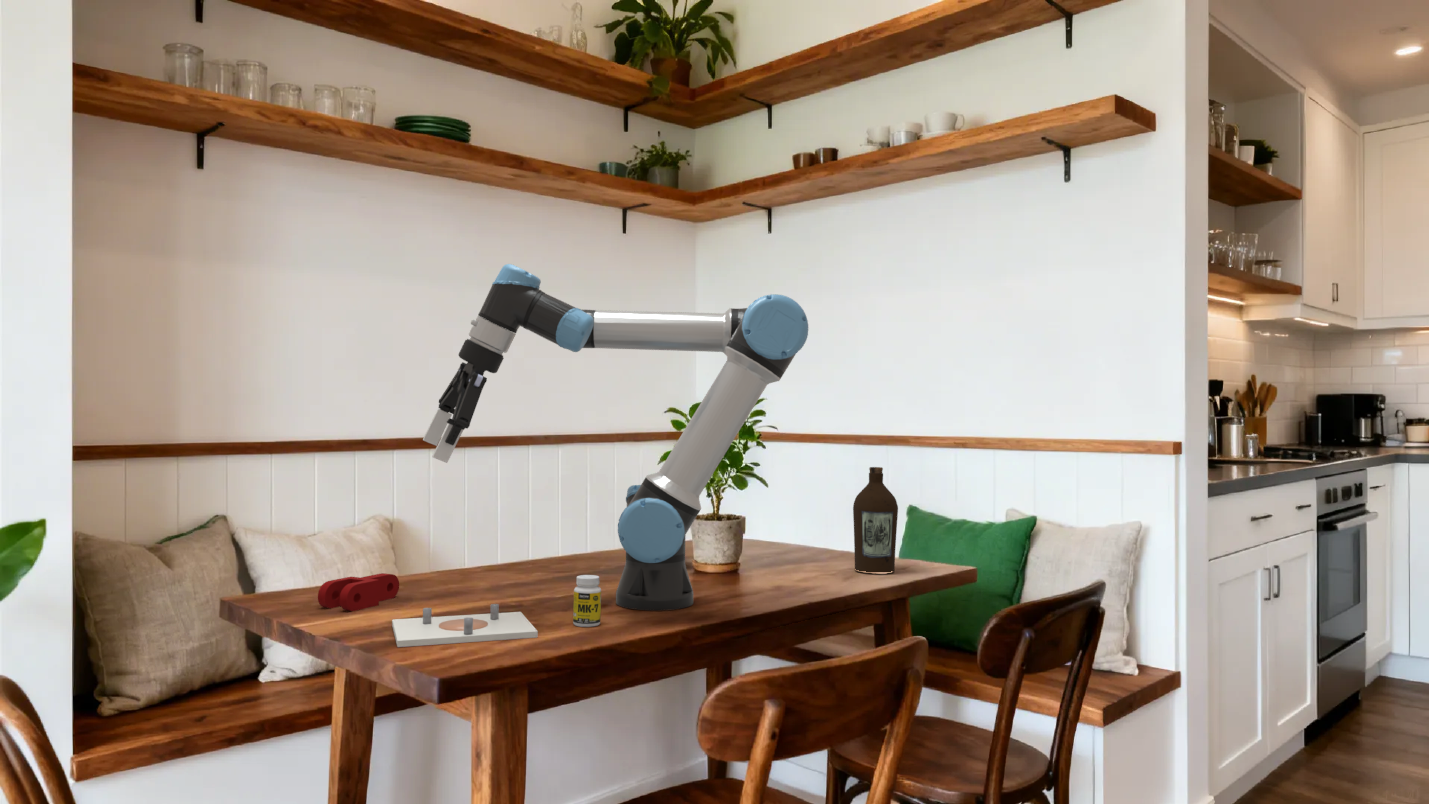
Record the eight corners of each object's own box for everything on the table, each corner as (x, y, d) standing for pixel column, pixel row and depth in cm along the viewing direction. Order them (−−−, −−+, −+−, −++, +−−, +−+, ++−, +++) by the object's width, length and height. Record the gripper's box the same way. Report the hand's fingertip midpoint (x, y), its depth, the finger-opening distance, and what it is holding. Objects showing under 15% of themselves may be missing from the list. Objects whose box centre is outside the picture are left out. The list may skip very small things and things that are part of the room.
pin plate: (520, 617, 172) (520, 597, 172) (537, 637, 158) (538, 616, 158) (392, 625, 164) (392, 604, 164) (397, 647, 149) (397, 624, 150)
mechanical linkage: (346, 614, 174) (347, 586, 174) (317, 610, 177) (318, 583, 177) (408, 599, 188) (408, 573, 188) (380, 595, 191) (381, 570, 191)
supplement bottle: (574, 628, 165) (575, 579, 165) (571, 622, 169) (572, 574, 169) (602, 626, 166) (603, 578, 166) (598, 621, 171) (599, 573, 171)
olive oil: (850, 567, 235) (851, 465, 235) (893, 568, 234) (895, 466, 234) (854, 574, 224) (856, 468, 224) (900, 576, 224) (901, 469, 224)
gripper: (456, 329, 183) (407, 428, 183) (479, 346, 161) (423, 459, 161) (492, 346, 187) (444, 443, 186) (519, 364, 164) (464, 475, 164)
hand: (434, 451), depth 173 cm, fingers open, 13 cm apart
